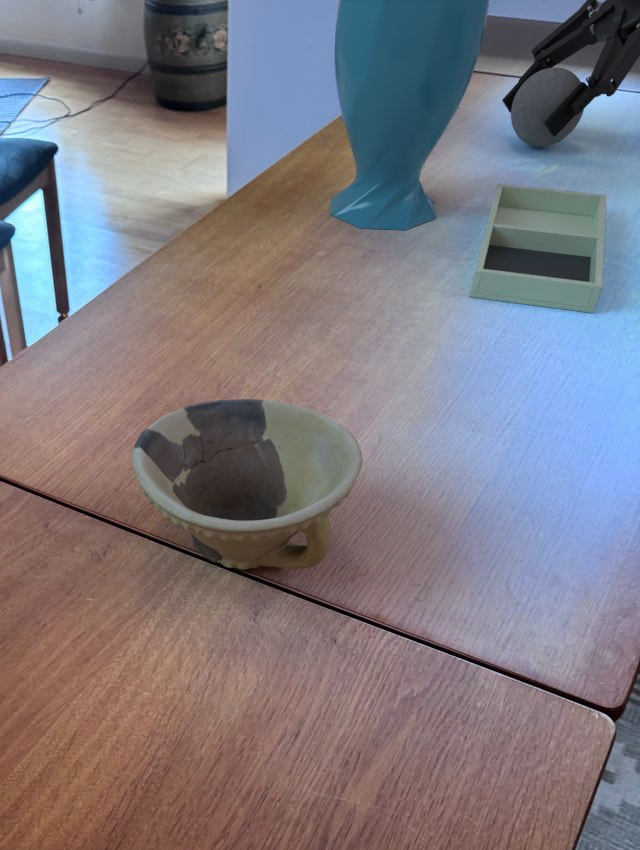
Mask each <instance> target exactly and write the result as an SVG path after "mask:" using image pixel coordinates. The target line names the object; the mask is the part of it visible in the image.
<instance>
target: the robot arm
mask: <svg viewBox="0 0 640 850" xmlns="http://www.w3.org/2000/svg"><path fill="white" fill-rule="evenodd" d="M591 27H592V28H591ZM598 42H600V43H601V42H602V43H604V46H603V47H602V49H601V52H600V54H599V57H598V59H597V61H596V63H595V65H594V67H593V70H592V72H591V74H590V76H588V77H586V78H585V81H586V82H584V81H581V83H580V84H579V85H578V86H577V88H576V89H575V90H574V91H573V92H572V93H571V94H570V95H569V96H568V97H567V98H566V99H565V100H564V101H563V103H562V104H561V105H560V106H559V107H558V108H557V109H556V110H555V111H554V112H553V113H552V114H551V115H550V116H549V118H548V119H547V120H546V121H545V122H544V123H545V125H546V126H547V128H548V130H549V131H550V133H551V135H552V136H554V137H555V136H556V135H557V134H558V133H559V132H560V131H561V130H562V129H563V128H564V127H565V126H566V125H567V124H568V123H569V121H570V120H571V119H572V118H573V117H574V116H575V115H578V114H579V113H581V112H582V111H583V110H585V109H586V108H587V107H588V106H589V104H590V103H591V102H592V101H593V100H594V99H595V98H599V97H600V96H601V95H606V97H607V98H608V97H613V95H614V94H615V93H616V92H617V91H618V89H619V87H620V86H621V84H623V82H624V80H625V79H626V77H627V75H628V74H629V72H630V71H631V69H632V68H633V66H634V65H635V63H636V62H637V61H638V59H639V57H640V0H604V1H603V2H601V1H598V0H586V1H585V2H584V3H583V4H582V5H581V6H580V7H579V9H578V10H577V11H575V13H573V14H572V15H571V16H569V17H568V18H567V19H566V20H565V21H563V22H562V23H561V24H560V25H559V26H558V27H556V28H555V29H554V30H553V31H552V32H551V33H550V34H548V35H547V36H546V37H544V38H543V40H541V41H540V42H539V43H538V44H536V45H535V46H534V47H533V48H532V50H531V54H532V56H533V58H534V62H533V63H532V64H531V65H530V66H529V67H528V68H527V70H526V71H525V72H524V73H523V74H522V75H521V76H520V78H519V79H518V81H517V83H516V84H515V85H514V86H513V87H512V88H511V90H509V92H508V93H507V94H506V95H505V96H504V97H502V99H501V101H502V103H503V104H504V106H505V108H506V109H507V111H508V112H509V114H511V108H512V104H513V100H514V98H515V95H516V93H517V92H518V90H519V89H520V87H521V86H522V84H523V83H524V82H525V81H526V80H527V79H528V78H529V77H531V76H532V75H534V74H535V73H537V72H539V71H541V70H544V69H547V68H553V67H556V66H557V65H559V64H561V63H562V62H563V61H565V60H567V59H568V58H569V57H571V56H573V55H575V54H576V53H577V52H579V51H581V50H582V49H584V48H585V47H587V46H589V45H591V46H594V45H596V44H597V43H598ZM583 112H584V111H583Z"/></svg>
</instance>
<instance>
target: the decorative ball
mask: <svg viewBox="0 0 640 850" xmlns="http://www.w3.org/2000/svg"><path fill="white" fill-rule="evenodd" d="M581 82H582V81H581V79H580V78H579V77H578V76H577V75H576V74H575V73H574V72H572V71H571V70H569V69H567V68H563V67H557V66H554V67H552V68H547V69H544V70H541V71H539V72H537V73H535V74H534V75H532V76H531V77H529V78H528V79H527V80H526V81H525V82H524V83H523V84H522V86H521V87H520V89H519V90H518V92H517V93H516V95H515V98H514V100H513V104H512V108H511V113H510V119H511V120H510V122H511V126H512V128H513V131H514V133H515V134H516V136H517V137H518V138H519V139H520V140H521V141H522V142H524V144H526V145H529V146H533V147H539V148H543V147H549V146H552V145H553V146H554V145H555V144H557V143H559V142H561V141H563V140H564V139H566V138H567V137H568V136H569V135H570V134H572V133H573V131H574V130H575V129H576V128H577V126H578V124H579V123H580V121H581V119H582V116H583V113H584V110H585V109H584V110H583V111H582V112H581V113H579V114H578V115H575V116H574V117H573V118H572V119H571V120H570V121H569V123H568V124H567V125H566V126H565V127H564V128H563V129H562V130H561V131H560V132H559V133H558V134H557V135H556V136H555V137H554V136H552V135H551V133H550V131H549V130H548V128H547V126H546V125H545V123H544V122H545V121H546V120H547V119H548V118H549V116H550V115H551V114H552V113H553V112H554V111H555V110H556V109H557V108H558V107H559V106H560V105H561V104H562V103H563V101H564V100H565V99H566V98H567V97H568V96H569V95H570V94H571V93H572V92H573V91H574V90H575V89H576V88H577V86H578V85H579V84H580V83H581Z"/></svg>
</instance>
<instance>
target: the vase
mask: <svg viewBox="0 0 640 850" xmlns="http://www.w3.org/2000/svg"><path fill="white" fill-rule="evenodd" d="M489 7H490V0H339V1H338V7H337V15H336V21H335V22H336V23H335V32H334V33H335V35H334V75H335V76H334V77H335V84H336V93H337V98H338V103H339V107H340V112H341V117H342V121H343V124H344V128H345V132H346V137H347V139H348V143H349V146H350V148H351V152H352V156H353V160H354V164H355V177H354V180H353V181H352V183H351V184H350V185H348V186H347V187H346V188H344V189H342V190H341V191H339V192H338V193H336V194H335V195H333V196H331V197H330V207H329V208H330V209H329V212H328V214H329V215H330V216H332V217H335V218H336V219H339V220H342V221H344V222H345V223H348V224H350V225H352V226H354V227H356V228H358V229H364V230H365V229H368V230H369V229H372V230H395V231H407V230H409V229H411V228H415V227H417V226H420V225H423V224H425V223H428V222H430V221H434V220H437V215H436V206H435V203H436V202H435V201H434V199H432V198H431V197H430V196H429V195H428V194H427V193H425V191H424V188H423V185H422V183H421V180H420V177H421V173H422V170H423V168H424V166H425V163H426V162H427V160H428V159H429V156H430V155H431V153H432V152H433V151H434V150H435V148H436V146H437V145H438V143H439V141H440V140H441V139H442V137H443V136H444V134H445V132H446V131H447V129H448V127H449V126H450V124H451V122H452V120H453V118H454V117H455V115H456V113H457V111H458V109H459V107H460V105H461V103H462V100H463V98H464V97H465V94H466V92H467V90H468V87H469V84H470V82H471V79H472V77H473V74H474V71H475V68H476V65H477V62H478V60H479V55H480V51H481V48H482V44H483V40H484V36H485V32H486V26H487V22H488V21H487V20H488V16H489V15H488V14H489Z"/></svg>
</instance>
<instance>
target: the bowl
mask: <svg viewBox="0 0 640 850" xmlns="http://www.w3.org/2000/svg"><path fill="white" fill-rule="evenodd" d="M131 458H132V459H131V460H132V466H133V472H134V475H135V477H136V479H137V481H138V483H139V485H140V488H141V489H142V490H143V494H144V495H145V497H146V498H147V500H148V502H149V504H151V505H154V509H155V511H156V512H157V513H159V514H162V516H163V518H164V519H165V520H167V521H171V522H172V524H173V525H174V526H175V527H182V528H183V529H184V530H186V531H188V532H189V533H190V534H191V538H192V545H193V547H194V548H195V549H196V550H197V552H198V553H199V554H200V555H202V556H203V557H205V558H206V559H207V560H209V561H211V563H216V564H221V566H223V567H226V568H228V569H233V568H234V569H238V570H250V569H257V568H259V567H268V568H269V567H270V568H271V567H273V568H278V569H282V570H283V569H285V570H304V569H310V568H313V567H315V566H317V565H318V564H320V563H321V562H322V561H324V560H325V559H326V558H327V555H328V553H329V551H330V548H331V544H332V530H331V522H330V516H329V514H330V513H331V512H332V510H334V509H335V508H336V507H339V506H341V504H342V501H343V500H344V499H346V498H347V497H349V495H350V492H351V490H352V489H353V487H354V486H355V484H356V483H357V482H356V481H357V480H358V477H359V475H360V472H361V469H362V465H363V463H364V461H363V453H362V450H361V447H360V444H359V442H358V440H357V438H356V437H355V435H354V434H353V433H352V432H351V431H350V430H349V429H348V428H347V427H345V426H344V425H342V423H339V422H337V421H336V420H334V419H333V418H332V417H329V416H327V415H325V414H323V413H321V412H319V411H316V410H313V409H310V408H307V407H304V406H299V405H295V404H291V403H286V402H283V401H278V400H270V399H269V400H268V399H250V398H240V399H239V398H238V399H237V398H236V399H234V398H233V399H220V400H219V399H218V400H211V401H204V402H199V403H195V404H191V405H187V406H184V407H182V408H180V409H176V410H174V411H171V412H170V413H167V414H165V415H163V416H161V417H160V418H158V419H157V420H155V421H154V422H153V423H152V424H150V425H149V426H148V427H147V428H145V429H144V430H143V431H142V432H141V433H140V434H139V436H138V437H137V439H136V442H135V443H134V447H133V451H132V455H131ZM299 532H301V533H303V534H304V536H305V538H306V541H307V544H306V545H301V544H294V543H291V538H293V537H294V536H295V535H296V534H298V533H299Z"/></svg>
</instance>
